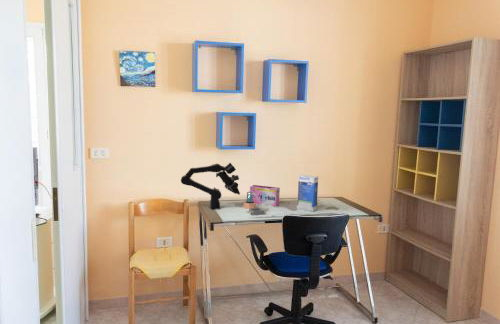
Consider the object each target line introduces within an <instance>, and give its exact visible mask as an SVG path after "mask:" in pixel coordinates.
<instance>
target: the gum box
mask: <svg viewBox="0 0 500 324" xmlns="http://www.w3.org/2000/svg"><path fill="white" fill-rule="evenodd" d="M280 190H281V187H275V186H267V185H259V184H258V185H257V184H253V185H251V186H249V191H251V192H253V201H254V202H255V205H256V204H257V205H262V204H263V205H264V206H272V207H277V206H279V204H280V192H281V191H280Z"/></svg>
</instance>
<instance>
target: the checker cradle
mask: <svg viewBox="0 0 500 324" xmlns="http://www.w3.org/2000/svg"><path fill="white" fill-rule="evenodd" d="M246 213H247V214H249V215H250V216H251V217H252V216H264V215H267V213H265V210H263V209H262V208H260V207H255V208H250V209H248V210H247V211H246Z"/></svg>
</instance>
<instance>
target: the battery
mask: <svg viewBox="0 0 500 324" xmlns="http://www.w3.org/2000/svg"><path fill="white" fill-rule="evenodd" d="M246 201H247V203H249V204H250V203H253V192H251V191H250V190H249V191H247V192H246Z"/></svg>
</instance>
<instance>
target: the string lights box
mask: <svg viewBox="0 0 500 324" xmlns="http://www.w3.org/2000/svg"><path fill="white" fill-rule="evenodd" d="M318 187H319V176H315V175H309V174H307V175H306V174H301V175H298V189H297V190H298V191H297V210H301V211H309V212H315V211H317V210H318V191H319V190H318V189H319V188H318Z"/></svg>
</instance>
